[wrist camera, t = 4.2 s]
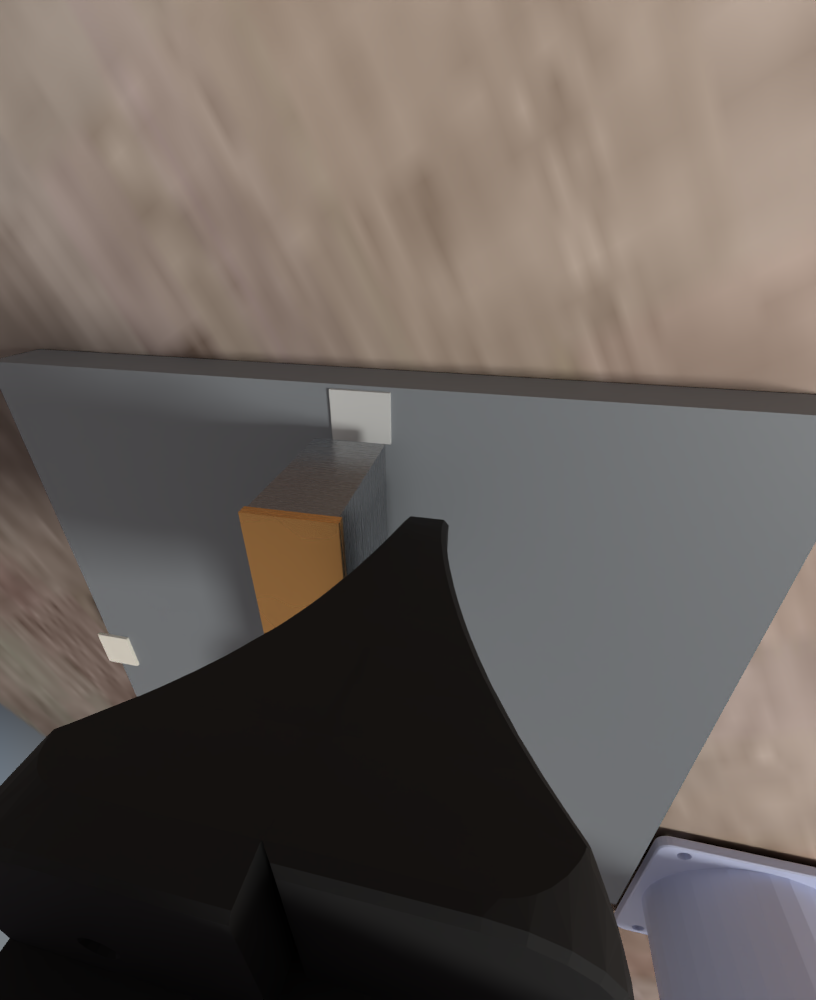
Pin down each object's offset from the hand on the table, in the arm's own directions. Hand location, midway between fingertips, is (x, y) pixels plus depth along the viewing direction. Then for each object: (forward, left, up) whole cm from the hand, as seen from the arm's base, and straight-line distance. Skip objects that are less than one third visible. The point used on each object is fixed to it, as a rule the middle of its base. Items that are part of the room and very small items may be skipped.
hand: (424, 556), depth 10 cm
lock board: (+2, +7, -3) cm, 8 cm away
